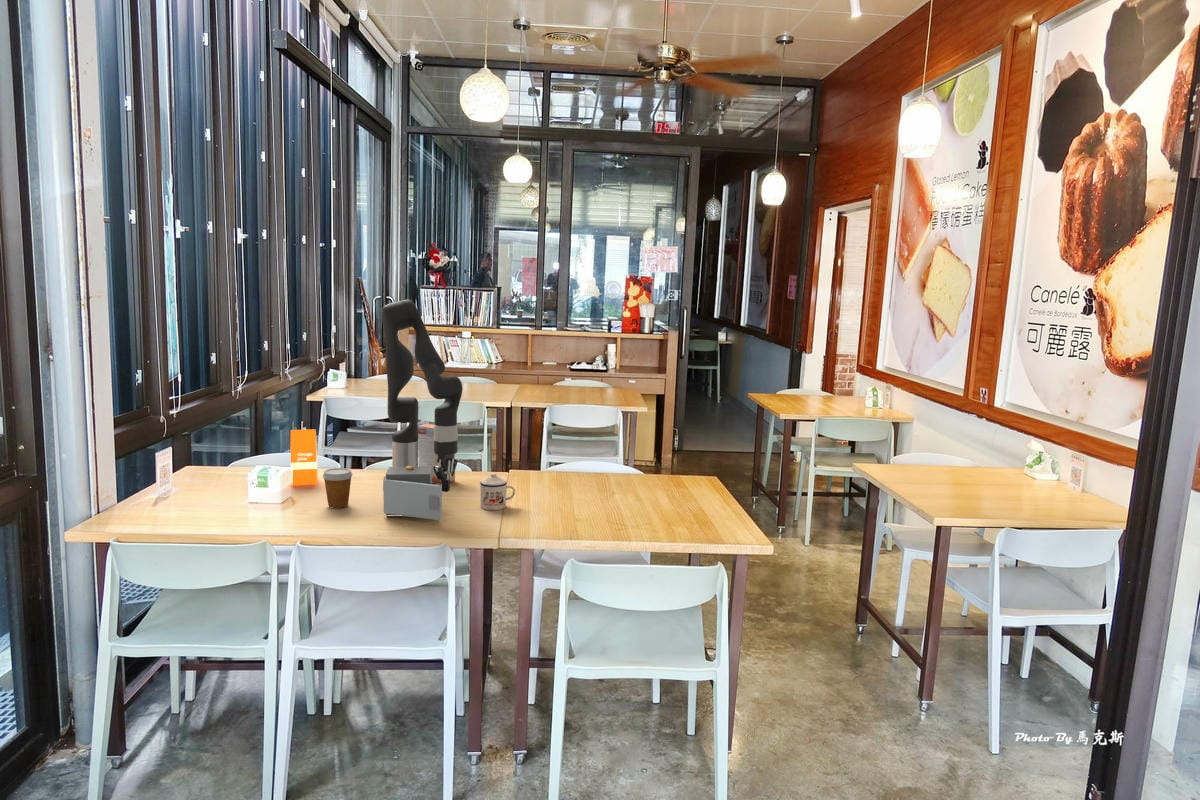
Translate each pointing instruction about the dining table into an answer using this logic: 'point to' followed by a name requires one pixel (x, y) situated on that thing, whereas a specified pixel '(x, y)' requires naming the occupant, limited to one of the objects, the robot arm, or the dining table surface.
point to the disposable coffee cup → (337, 486)
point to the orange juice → (304, 457)
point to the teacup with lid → (494, 493)
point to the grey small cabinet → (410, 475)
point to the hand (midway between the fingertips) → (445, 491)
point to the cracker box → (428, 449)
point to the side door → (412, 499)
